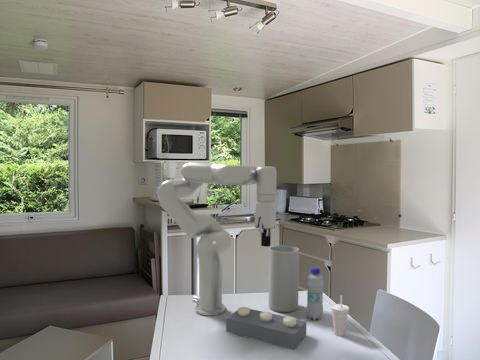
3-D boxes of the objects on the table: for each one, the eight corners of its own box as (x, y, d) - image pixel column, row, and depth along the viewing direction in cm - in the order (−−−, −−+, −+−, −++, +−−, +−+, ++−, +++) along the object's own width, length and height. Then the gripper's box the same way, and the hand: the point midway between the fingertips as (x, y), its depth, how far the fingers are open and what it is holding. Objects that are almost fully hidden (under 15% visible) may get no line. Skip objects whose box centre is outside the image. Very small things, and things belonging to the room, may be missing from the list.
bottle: (323, 322, 143) (324, 270, 142) (305, 320, 144) (306, 269, 143) (323, 315, 149) (324, 266, 148) (306, 313, 150) (307, 265, 150)
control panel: (226, 331, 134) (226, 318, 133) (242, 319, 144) (242, 307, 144) (294, 349, 121) (294, 334, 121) (306, 335, 132) (306, 321, 131)
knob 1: (235, 327, 136) (235, 310, 136) (241, 322, 140) (241, 306, 140) (246, 329, 134) (246, 312, 134) (251, 325, 138) (251, 308, 138)
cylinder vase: (264, 310, 154) (265, 250, 153) (273, 300, 165) (274, 244, 164) (293, 315, 149) (294, 253, 148) (301, 304, 161) (302, 247, 160)
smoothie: (338, 339, 128) (339, 299, 128) (326, 331, 134) (327, 293, 134) (352, 335, 131) (353, 296, 131) (340, 328, 137) (340, 291, 137)
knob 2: (281, 338, 127) (281, 320, 127) (285, 333, 131) (286, 315, 131) (293, 341, 125) (293, 323, 125) (297, 336, 129) (297, 318, 129)
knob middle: (257, 332, 132) (257, 315, 131) (262, 327, 136) (263, 310, 135) (268, 335, 130) (269, 317, 129) (273, 330, 133) (274, 313, 133)
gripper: (265, 196, 150) (265, 241, 151) (248, 199, 137) (248, 248, 138) (282, 197, 147) (282, 243, 147) (267, 200, 134) (266, 251, 134)
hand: (265, 245), depth 143 cm, fingers closed
